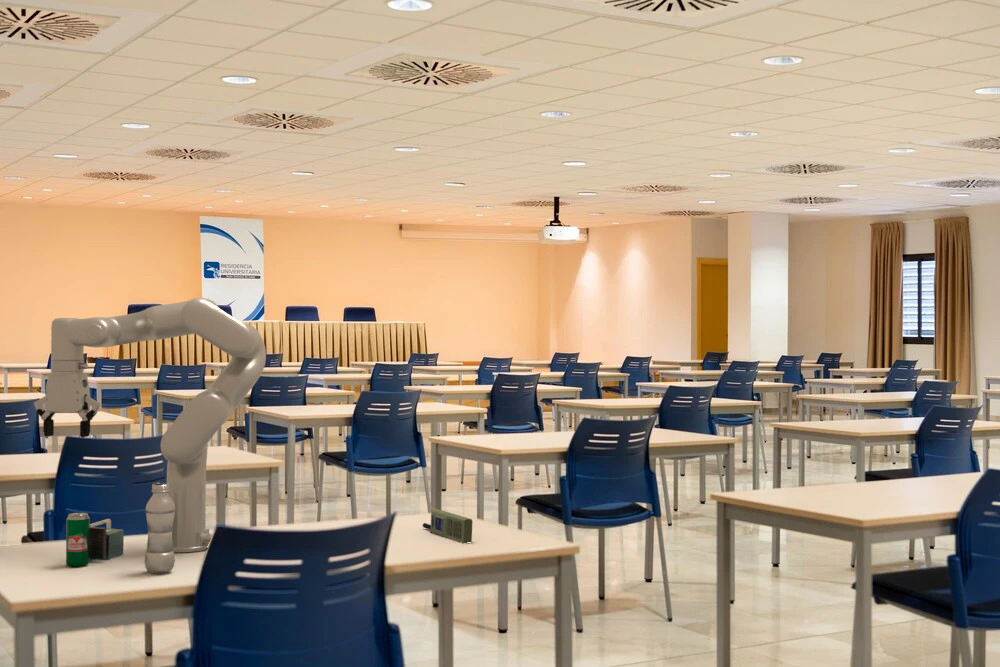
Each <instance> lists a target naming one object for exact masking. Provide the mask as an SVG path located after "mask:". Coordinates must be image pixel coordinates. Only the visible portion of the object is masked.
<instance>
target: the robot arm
mask: <svg viewBox="0 0 1000 667" xmlns="http://www.w3.org/2000/svg"><path fill="white" fill-rule="evenodd" d="M50 327H51V328H50V329H51V334H50V336H51V339H50V341H51V342H50V344H51V346H50V348H51V349H50V350H51V351H50V354H51V359H50V372H49V373H48V376H47V381H46V384H45V392H44V396H43V397H41V398H39V399H37V400H35V401H34V402H33V406H34V407H35V410H36V413H37V414H38V416H40V419H41V421H43V424H42V425H43V430H42V431H43V437H52V436H54V433H55V431H54V428H55V427H54V425H55V424H54V423H55V420H54V419H52V418H53V417H54V416H55V415H56V414H77V415H78V416H79V417H80V419H81V420H80V422H79V437H81V438H86V437H87V438H88V437H90V433H91V421H92V420H93V418H94V417H95V416H96V415H97V413H98V411H99V409H100V406H101V402H99V401H97V400H96V399H94V398H92V397H91V392H90V391H91V389H90V383H89V378H88V374H87V372H84V371H85V369H88V367H89V364H88V362H85V360H84V347H89V348H109V347H115V346H121V345H128V344H133V343H139V342H145V341H150V342H151V341H152V342H153V341H159V340H166V339H170V338H171V339H172V338H177V337H183V336H184V337H185V336H191V335H197V336H198V337H200V338H202V339H204V341H206V342H208V343H209V344H211V345H212V346H214V347H216V348H217V349H219V350H220V351H221V352H223V353H225V354H227V355H229V356H231V358H230V361H229V362H228V363H227V364H226V366H225V367H224V368H223V369H222V371H220V373H219V375H218V376H217V377H216V379H215V380H214V381H213V382H212V384H210V385H209V386H208V388H207V389H205V390H204V391H201V392H200V393H198V394H196V395H195V396H194V397H193V398H192V399H191V400H190V402H189V403H188V404H187V405H186V406H185V408H184V409H183V410H181V412H180V413H179V415H178V416H177V417H176V419H175V420H173V422H172V423H171V425H170V426H169V427H168V428H167V429H166V431H165V432H164V433H163V434H162V436H161V437H162V438H161V440H160V450H161V454H162V456H163V457H164V458H165V459H166V460H167V463H166V464H167V465H166V466H167V468H166V483H168V484H169V492H168V495H169V496H170V498H171V499H172V500H173V502H174V504H175V513H174V520H173V530H172V542H173V551H174V553H191V552H193V553H194V552H200V551H204V550H207V549H206V548H207V546H208V544H209V542H210V540H211V537H212V534H211V533H210V528H206V519H207V518H206V517H207V516H206V514H207V513H206V506H207V505H206V502H207V497H206V496H207V494H206V492H207V491H206V490H207V460H208V448H209V446H208V443H209V442H210V440H211V439H212V438H213V437H214V436H215V434H216V433H217V432H218V431H219V429H220V428H221V427H222V426H223V425H224V424H225V423H227V422H228V420H230V417H232V414H233V413H234V412H235V410H236V409H237V407H238V406H239V405H240V404H241V402H243V400H244V399H245V398H246V396H247V395H248V393H250V391H251V390H252V388H253V387H254V386H255V384H256V383H257V381H259V379H260V377H261V375H262V373H263V371H264V369H265V365H266V360H267V353H266V352H267V350H266V345H265V343H264V340H263V338H262V336H261V333H260V332H259V331H258V329H256V328H255V327H254V326H253V325H250V324H248V323H243V322H242V321H240V320H239V319H237V318H236V317H234V316H232V315H231V314H229V313H227V312H226V311H224V310H223V309H221V308H220V307H219V306H218V305H217V303H216V302H215V301H214V300H211V299H209V298H205V297H195V298H192V299H190V300H185V301H179V302H174V303H173V302H172V303H168V304H159V305H153V306H151V307H147V308H146V309H143V310H141V311H138V312H134V313H129V314H122V315H114V316H110V317H104V316H103V317H102V316H101V317H100V316H97V317H86V318H76V317H58V318H54V319H53V320H52V321H51V326H50ZM43 406H44V407H45V408H44V407H43Z"/></svg>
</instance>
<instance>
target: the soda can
mask: <svg viewBox="0 0 1000 667" xmlns="http://www.w3.org/2000/svg"><path fill="white" fill-rule="evenodd" d="M90 520H91V519H90V516H89V514H88V513H87V512H73V513H69V514H68V516H67V518H66V524H65V526H66V527H65V528H66V530H65V533H66V534H65V537H66V538H65V542H66V543H65V549H66V550H65V565H66V566H67V567H68V568H74V569H75V568H77V569H78V568H83V567H87V566H88V565H89V564H90V559H89V540H90V524H91V523H90Z"/></svg>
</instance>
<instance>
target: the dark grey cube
mask: <svg viewBox="0 0 1000 667" xmlns="http://www.w3.org/2000/svg"><path fill="white" fill-rule="evenodd" d="M124 533H125V532H124V529H122V528H121V529H116V528H106V558H105V559H102V560H106V561H108V560H109V561H110V560H112V559H115V558H117V557H120V556H122V555H124V541H125V540H124V539H125V537H124Z"/></svg>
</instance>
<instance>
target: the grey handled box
mask: <svg viewBox="0 0 1000 667" xmlns="http://www.w3.org/2000/svg"><path fill="white" fill-rule="evenodd" d="M104 524H106V527H100V526H101V525H104ZM97 526H99V527H97ZM106 529H112V520H111V519H110V518H106V519H103V520H100V521H96V522H93V523H90V540H89V560H103V559H105V558H106Z"/></svg>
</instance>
